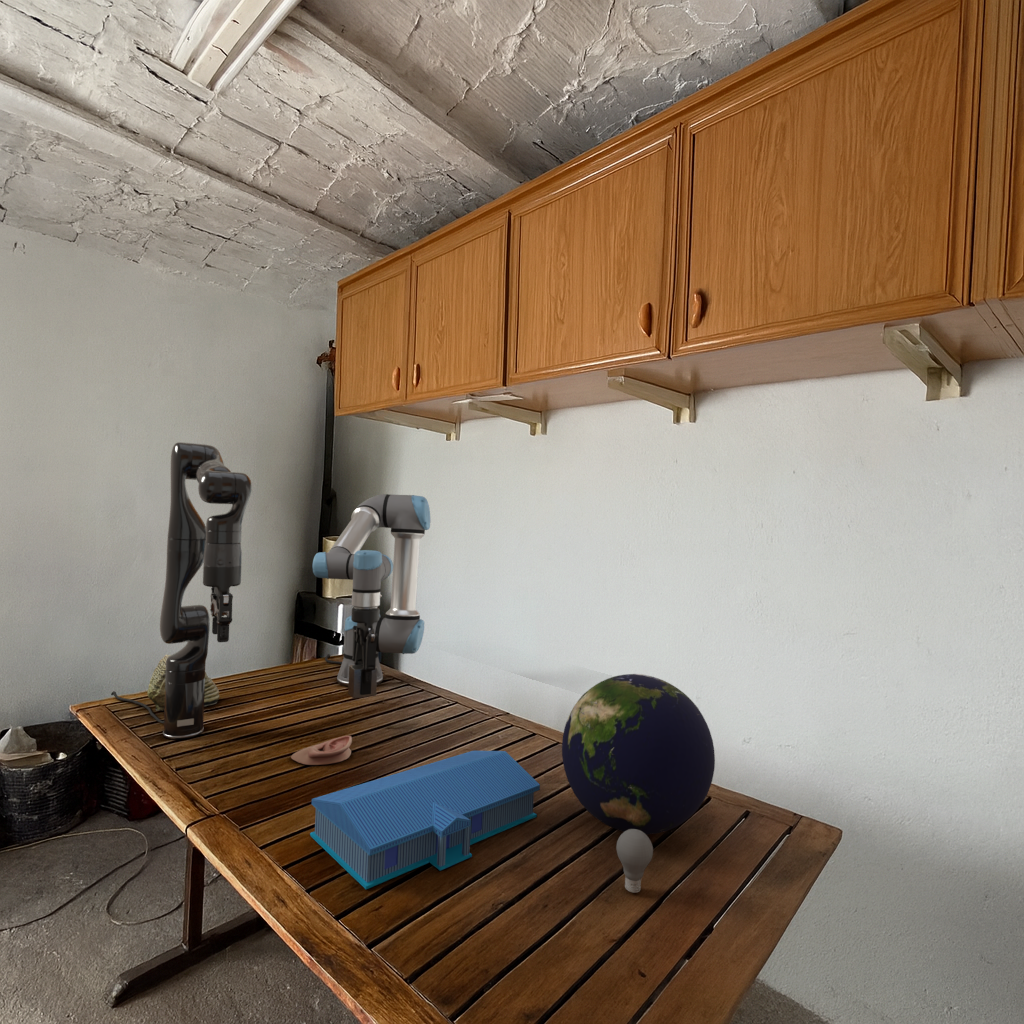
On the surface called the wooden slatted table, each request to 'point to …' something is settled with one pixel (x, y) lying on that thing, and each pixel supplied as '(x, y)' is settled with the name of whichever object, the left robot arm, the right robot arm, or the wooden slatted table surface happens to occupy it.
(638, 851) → the light bulb
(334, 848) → the model building
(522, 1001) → the wooden slatted table surface
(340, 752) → the anatomical model
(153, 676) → the fossil
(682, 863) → the wooden slatted table surface
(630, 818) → the globe
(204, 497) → the left robot arm
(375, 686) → the block
